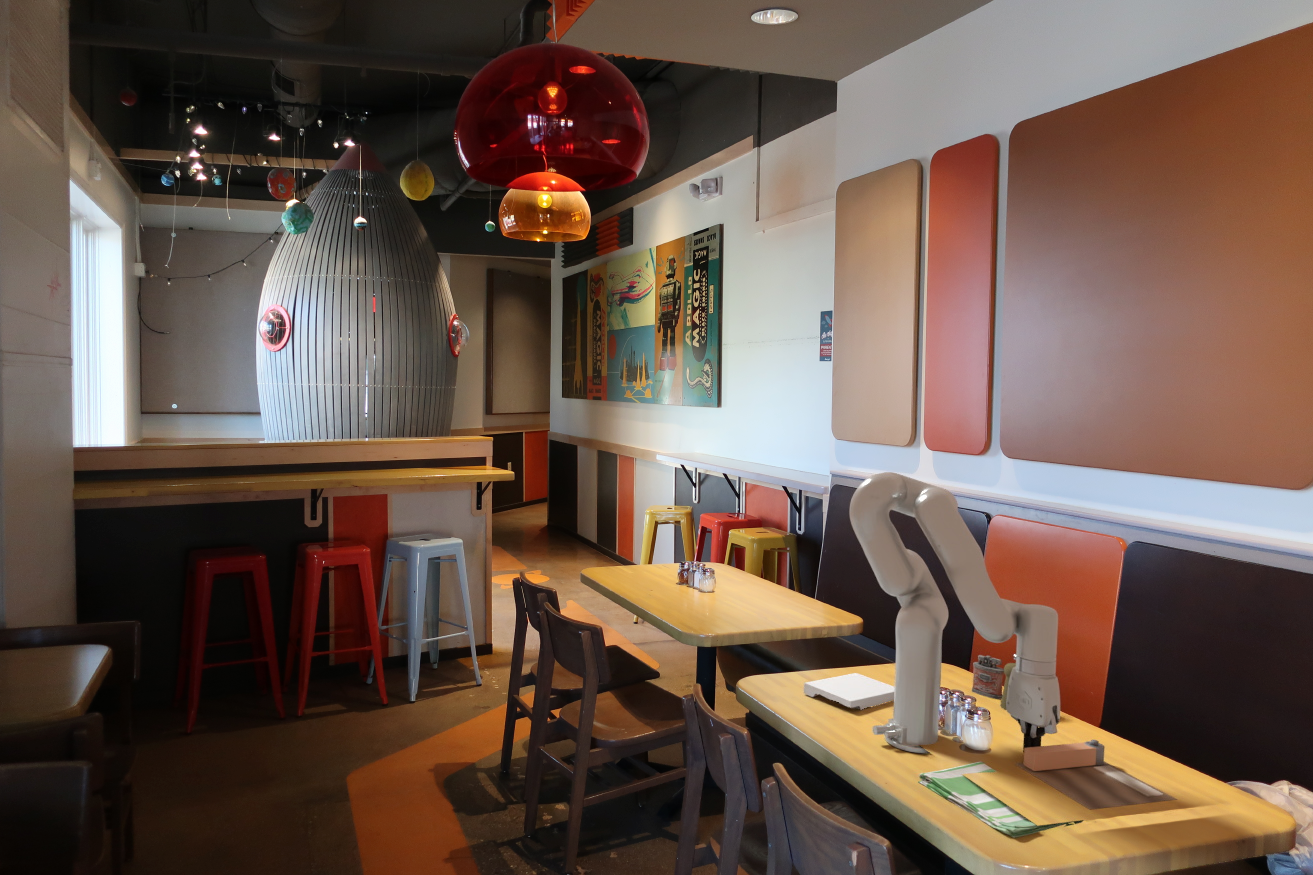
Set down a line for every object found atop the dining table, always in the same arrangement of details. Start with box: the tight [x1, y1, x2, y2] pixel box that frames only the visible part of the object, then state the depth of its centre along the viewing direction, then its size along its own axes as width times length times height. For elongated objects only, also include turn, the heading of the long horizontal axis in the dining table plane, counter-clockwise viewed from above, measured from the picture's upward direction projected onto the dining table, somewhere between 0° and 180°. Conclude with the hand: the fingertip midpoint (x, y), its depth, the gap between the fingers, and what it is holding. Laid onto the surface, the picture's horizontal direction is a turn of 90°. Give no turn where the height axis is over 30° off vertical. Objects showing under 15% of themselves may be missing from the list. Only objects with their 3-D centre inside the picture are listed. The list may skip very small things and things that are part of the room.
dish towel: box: [917, 761, 1085, 839], centre depth 157 cm, size 18×23×3 cm
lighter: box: [971, 654, 1005, 700], centre depth 219 cm, size 8×3×10 cm, turn 40°
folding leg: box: [1023, 739, 1105, 771], centre depth 171 cm, size 18×4×4 cm, turn 106°
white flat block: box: [803, 672, 895, 711], centre depth 213 cm, size 15×3×20 cm
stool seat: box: [1014, 760, 1178, 811], centre depth 164 cm, size 20×20×2 cm
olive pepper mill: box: [999, 662, 1016, 711], centre depth 209 cm, size 6×6×11 cm
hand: (1031, 753), depth 174 cm, fingers closed
